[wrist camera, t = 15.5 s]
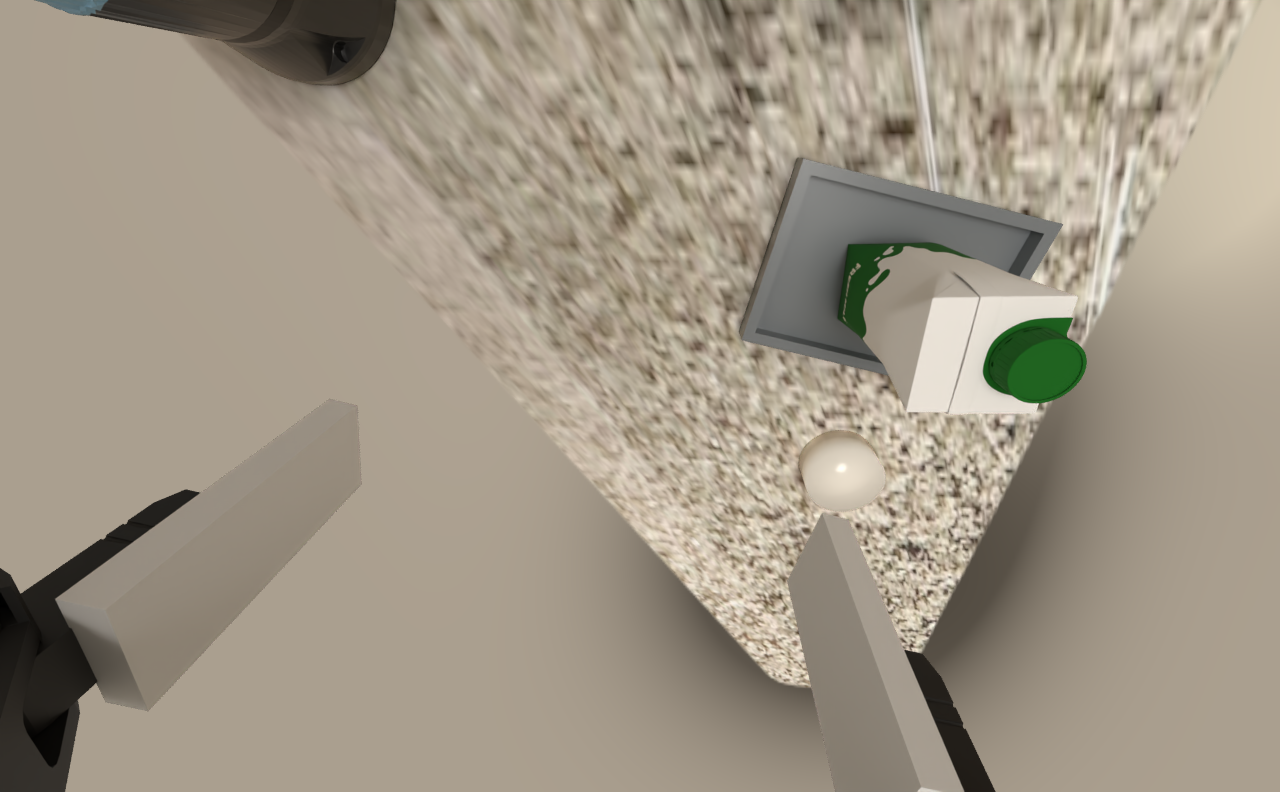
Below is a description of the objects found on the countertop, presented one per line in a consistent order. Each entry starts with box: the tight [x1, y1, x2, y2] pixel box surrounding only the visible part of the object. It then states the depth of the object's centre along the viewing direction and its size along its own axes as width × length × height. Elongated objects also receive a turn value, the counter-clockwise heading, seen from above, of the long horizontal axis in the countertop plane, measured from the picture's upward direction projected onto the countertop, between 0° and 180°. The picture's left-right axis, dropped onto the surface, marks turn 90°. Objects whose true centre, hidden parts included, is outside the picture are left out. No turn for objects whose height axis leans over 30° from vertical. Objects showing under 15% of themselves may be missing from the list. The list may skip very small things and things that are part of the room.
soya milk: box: [837, 242, 1087, 415], centre depth 37 cm, size 9×9×20 cm
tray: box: [739, 158, 1063, 375], centre depth 45 cm, size 22×16×2 cm
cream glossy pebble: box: [799, 430, 886, 512], centre depth 54 cm, size 8×8×4 cm
